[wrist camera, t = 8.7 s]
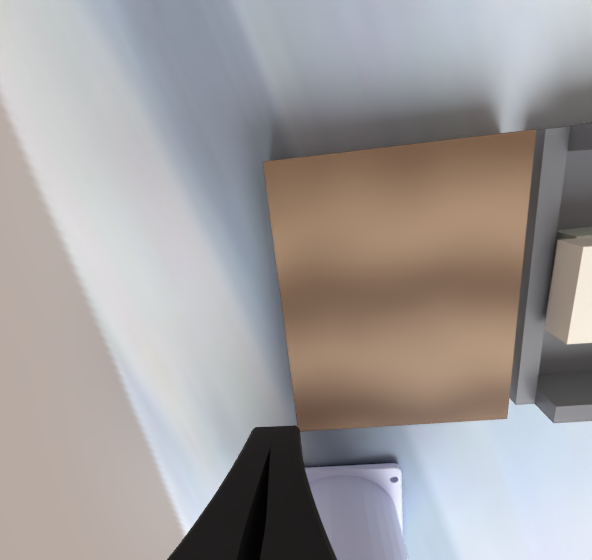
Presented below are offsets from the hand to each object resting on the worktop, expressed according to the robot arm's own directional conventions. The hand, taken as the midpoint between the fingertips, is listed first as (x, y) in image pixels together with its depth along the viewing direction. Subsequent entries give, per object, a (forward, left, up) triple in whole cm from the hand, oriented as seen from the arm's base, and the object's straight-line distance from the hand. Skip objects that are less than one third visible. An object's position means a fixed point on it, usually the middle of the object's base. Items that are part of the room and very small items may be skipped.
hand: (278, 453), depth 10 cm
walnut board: (+2, -5, -9) cm, 11 cm away
